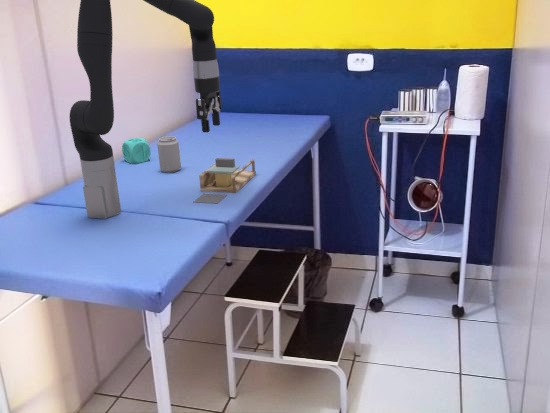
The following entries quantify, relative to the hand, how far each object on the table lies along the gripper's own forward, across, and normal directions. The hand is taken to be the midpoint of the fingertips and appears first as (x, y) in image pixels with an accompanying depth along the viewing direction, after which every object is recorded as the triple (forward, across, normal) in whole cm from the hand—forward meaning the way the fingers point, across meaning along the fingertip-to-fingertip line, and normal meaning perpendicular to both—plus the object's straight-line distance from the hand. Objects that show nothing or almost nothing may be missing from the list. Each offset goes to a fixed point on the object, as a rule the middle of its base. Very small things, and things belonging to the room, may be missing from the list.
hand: (211, 128), depth 185 cm
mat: (+20, -8, -1) cm, 22 cm away
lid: (+15, +4, -1) cm, 15 cm away
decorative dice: (+21, +30, +45) cm, 58 cm away
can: (+21, +20, +26) cm, 39 cm away
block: (+20, +4, -1) cm, 21 cm away
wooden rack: (+21, +8, -1) cm, 22 cm away
